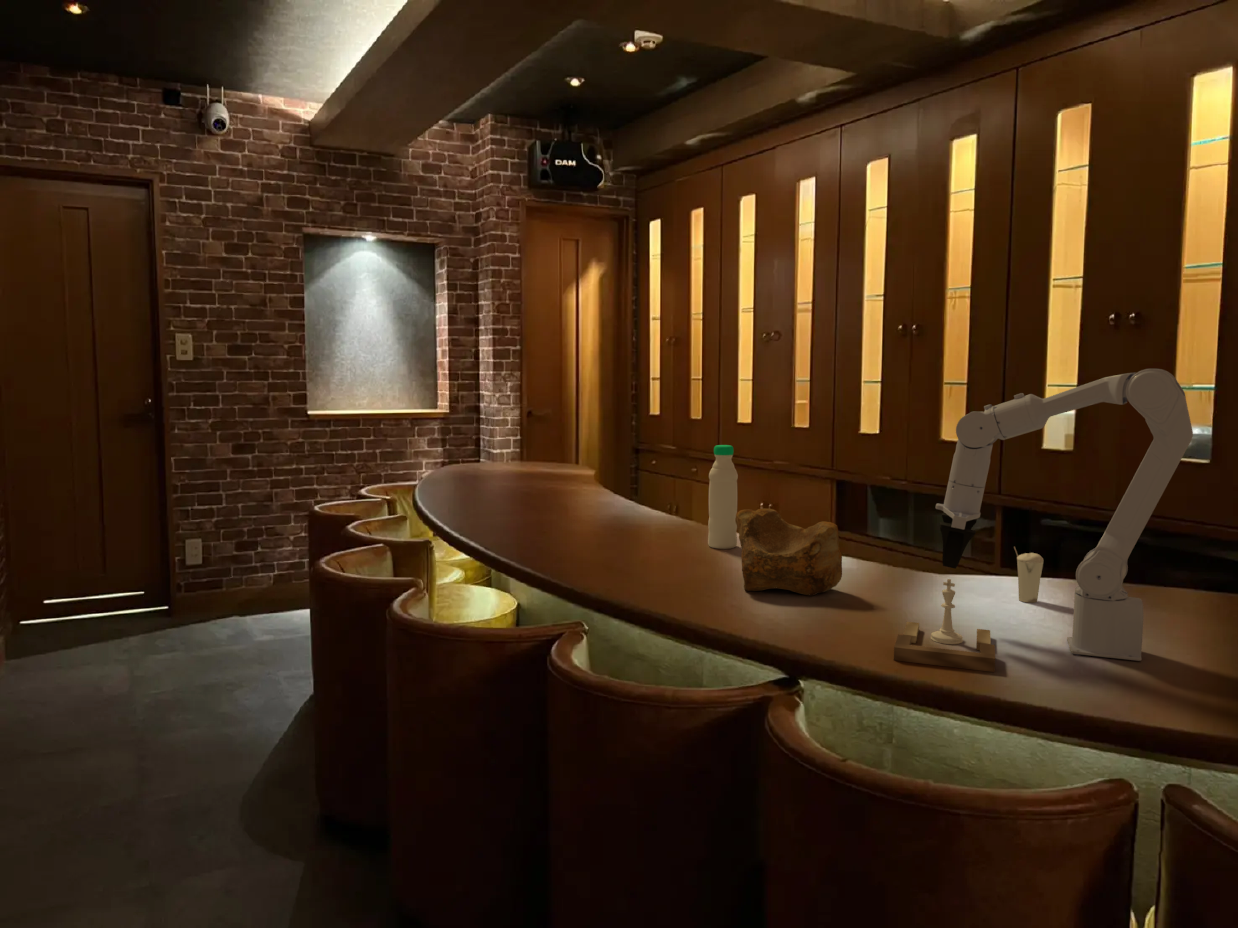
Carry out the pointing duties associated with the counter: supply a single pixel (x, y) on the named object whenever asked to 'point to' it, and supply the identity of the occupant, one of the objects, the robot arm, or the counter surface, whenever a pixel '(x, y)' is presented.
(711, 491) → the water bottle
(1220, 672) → the counter surface
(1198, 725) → the counter surface
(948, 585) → the chess piece
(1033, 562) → the milkshake
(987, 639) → the pocket channel
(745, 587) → the rough brown rock
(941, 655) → the stop rail
